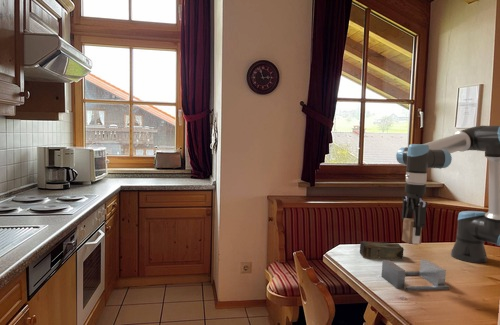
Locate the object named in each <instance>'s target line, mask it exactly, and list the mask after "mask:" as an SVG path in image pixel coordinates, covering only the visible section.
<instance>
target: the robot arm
mask: <svg viewBox="0 0 500 325" xmlns="http://www.w3.org/2000/svg"><path fill="white" fill-rule="evenodd" d="M466 151H477V152H478V151H479V152H484V157H485V158H486V159H487V160H488V211H487V212H485V211H482V210H481V211H479V210H478V211H477V210H465V211H464V210H463V211H460V212H459V213H458V217H457V225H456V238H455V242H454V245H453V247H452V249H451V250H450V251H451V252H450V255H451V257H453V258H454V259H457V260H460V261H464V262H467V263H477V264H479V263H481V264H482V263H486V262H487V261H488V256H487V252H486V248H485V242H486V243H490V244H494V245H496V246H499V247H500V125H476V126H473V127H469V128H466V129H465V128H464V129H462V130H459V131H458V130H457V131H456V132H454V133H453V134H452V135H449V136H446V137H443V138H439V139H436V140H433V141H429V142H426V143H422V144H420V143H417V144H416V143H410V144H408V147H401V148H399V149H397V152H396V154H395V157H396V158H395V159H396V161H397V163H398V164H400V165H405V166H406V170H405V183H404V192H405V193H406V196H405V195H403V196H402V208H401V220H402V221H403V220H404V218H414V225H415V226H413V235H412V244H411V245H419V242H420V233H421V227H422V228H425V227H426V216H427V206H428V201H424V198H423V195H425V194H426V191H427V189H426V188H427V185H426V184H427V177H428V169H440V170H441V169H446V168H449V166H450V165H451V164H452V159H453V158H452V154H453V153H456V152H466Z"/></svg>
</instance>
